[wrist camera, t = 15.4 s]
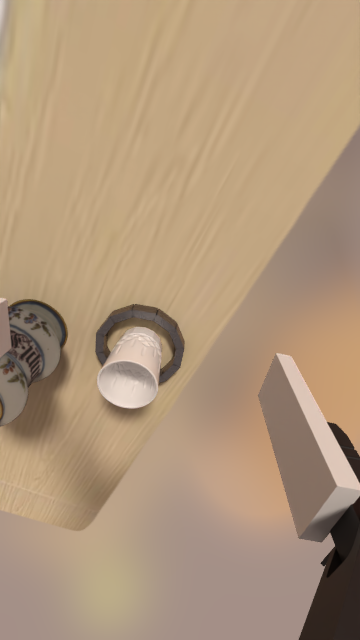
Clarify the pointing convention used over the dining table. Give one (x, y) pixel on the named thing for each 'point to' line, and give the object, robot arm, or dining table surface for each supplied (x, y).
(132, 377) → the white cup
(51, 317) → the apothecary jar
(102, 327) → the collar ring
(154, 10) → the dining table surface
